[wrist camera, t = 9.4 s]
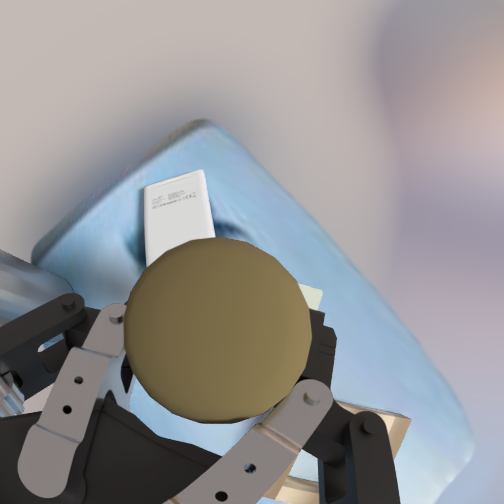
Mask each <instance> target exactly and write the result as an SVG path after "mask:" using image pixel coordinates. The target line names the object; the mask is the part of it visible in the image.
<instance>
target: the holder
mask: <svg viewBox="0 0 504 504" xmlns="http://www.w3.org/2000/svg"><path fill="white" fill-rule="evenodd" d="M335 401H336V400H335ZM336 402H337V403H338V404H339V405H340V406H341V407H343V408H344V409H346V410H348V411H350V412H351V413H353V414H357V413H358V412H361V411H371V412H374V413H376V414H378V415H379V416H380V417H381V418H382V419H383V420H384V422H385V424H386V427H387V431H388V436H389V440H390V445H391V450H392V455H393V460H394V459H395V457H396V454H397V452H398V450H399V448H400V446H401V444H402V441H403V439H404V437H405V434H406V432H407V430H408V427H409V425H410V422H411V420H412V419H410V418H408V417H406V416H404V415H402V414H398V413H392V412H387V411H381V410H376V409H371V408H367V407H362V406H357V405H353V404H349V403H345V402H340V401H336ZM297 456H298V455H297ZM297 456H296V458H297ZM296 458H295V459H294V460H293V462H292V463H291V464H290V465H289V466H288V468H287V469H286V470H285V471H284V473H283V474H282V475H281V476H280V477H279V478H278V480H277V481H276V482H275V483H274V484H273V485H272V486H271V488H270V489H269V490H268V491H267V492H266V493H265V494H264V495H263V497H266V498H270V499H274V500H278V501H282V502H287V503H291V504H319V482H314V481H309V480H304V479H300V478H295V477H291V476H288V474H289V472H290V470H291V468H292V466H293V464H294V462H295V460H296Z"/></svg>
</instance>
